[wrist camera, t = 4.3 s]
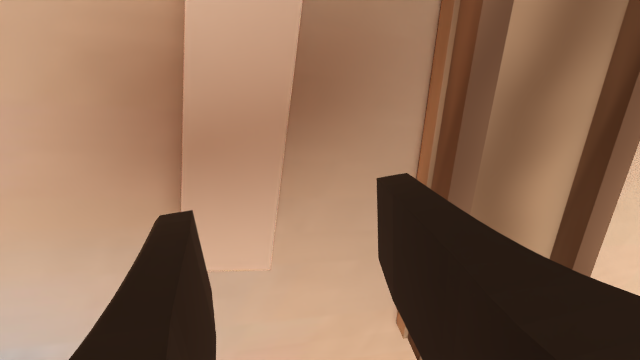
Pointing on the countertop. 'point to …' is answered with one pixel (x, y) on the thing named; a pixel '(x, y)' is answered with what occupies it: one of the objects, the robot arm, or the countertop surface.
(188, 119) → the beige rectangular block
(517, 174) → the rack
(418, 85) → the countertop surface
